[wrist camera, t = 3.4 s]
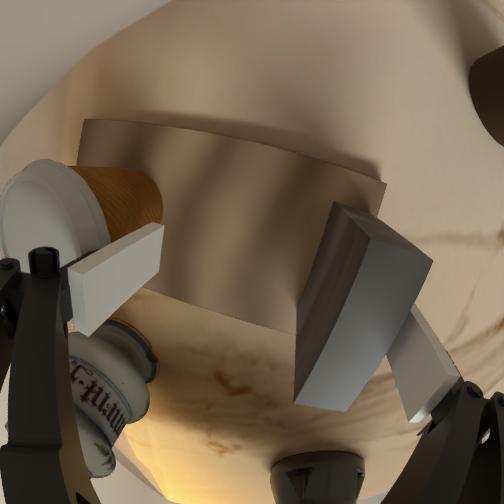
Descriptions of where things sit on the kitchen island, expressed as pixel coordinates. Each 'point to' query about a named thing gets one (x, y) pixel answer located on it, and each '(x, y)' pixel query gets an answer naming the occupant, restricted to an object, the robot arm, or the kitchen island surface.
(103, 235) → the disposable coffee cup
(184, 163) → the walnut board
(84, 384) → the apothecary jar
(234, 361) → the kitchen island surface
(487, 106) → the olive oil
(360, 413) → the kitchen island surface
